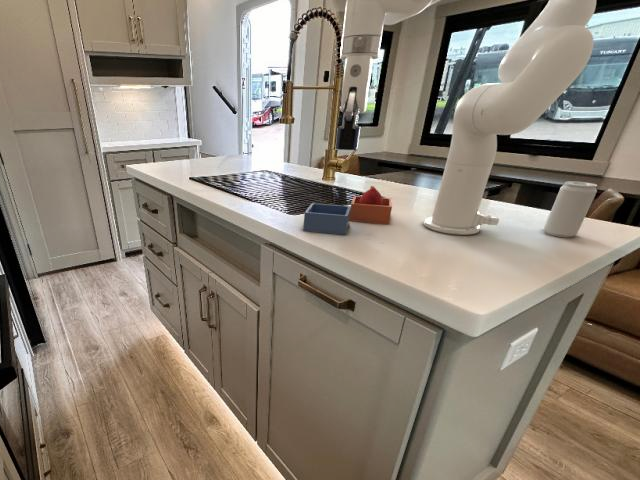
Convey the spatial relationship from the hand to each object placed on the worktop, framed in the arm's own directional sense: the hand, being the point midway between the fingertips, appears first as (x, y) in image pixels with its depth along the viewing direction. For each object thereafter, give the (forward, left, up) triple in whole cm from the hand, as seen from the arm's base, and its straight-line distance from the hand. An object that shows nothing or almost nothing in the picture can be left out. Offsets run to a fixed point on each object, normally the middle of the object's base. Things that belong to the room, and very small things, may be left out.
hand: (346, 147), depth 80 cm
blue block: (0, 0, 0) cm, 0 cm away
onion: (-7, -15, -19) cm, 25 cm away
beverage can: (-51, -15, -20) cm, 57 cm away
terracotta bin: (-7, -15, -19) cm, 26 cm away
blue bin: (+3, -2, -19) cm, 20 cm away
